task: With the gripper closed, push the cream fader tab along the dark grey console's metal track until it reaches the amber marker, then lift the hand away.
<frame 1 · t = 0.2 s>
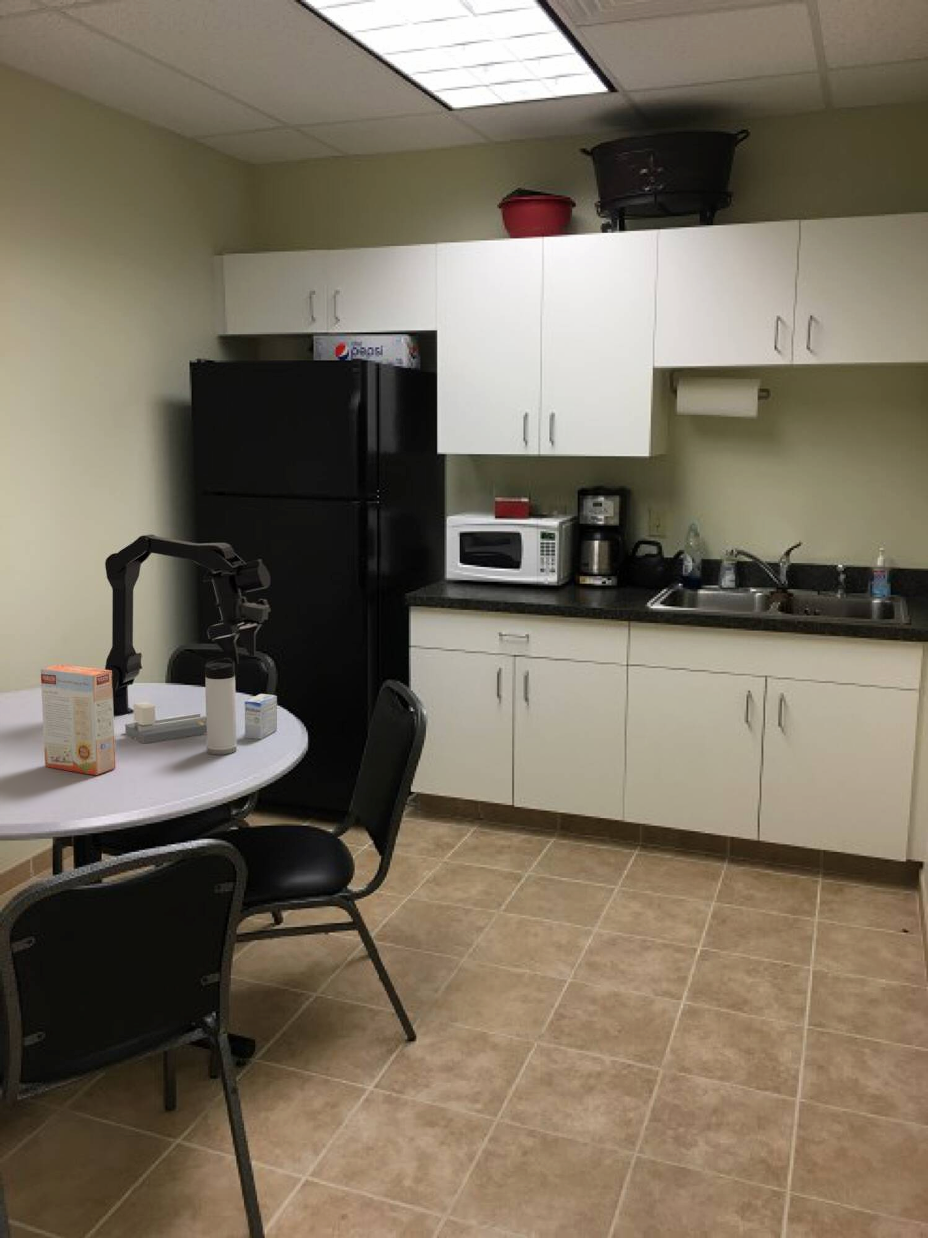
hand: (244, 660, 254), 15 cm above the table, tool pointing down, fingers open, 9 cm apart
travel mug: (222, 751, 234), on the table
medicine box: (261, 735, 247), on the table
cracker box: (80, 769, 220), on the table
fader: (144, 716, 243), point 5 cm above the table, slide at -6.0 cm
console: (170, 732, 247), on the table
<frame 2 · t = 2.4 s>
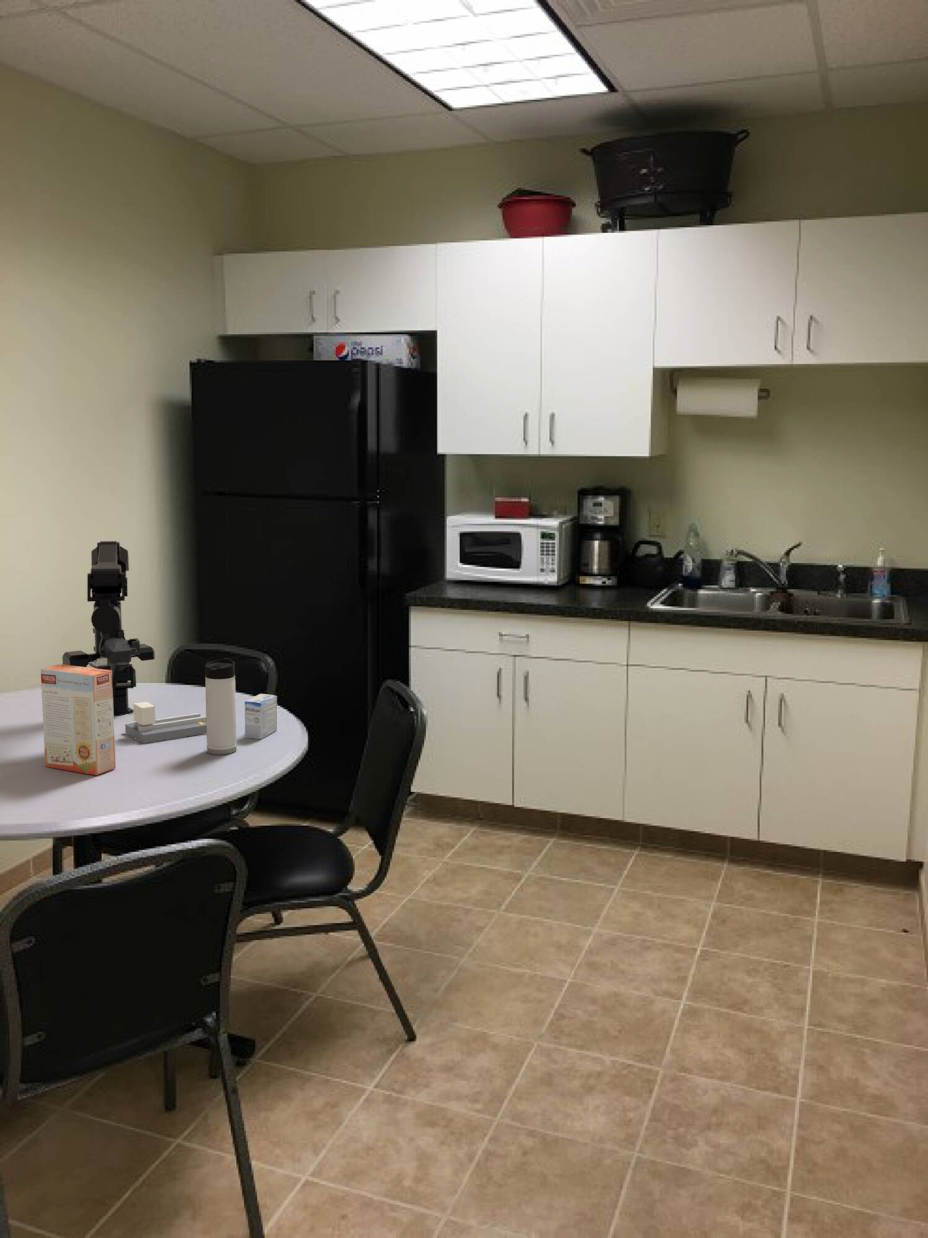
hand: (110, 694, 237), 11 cm above the table, tool pointing down, fingers closed
nothing on the table moved.
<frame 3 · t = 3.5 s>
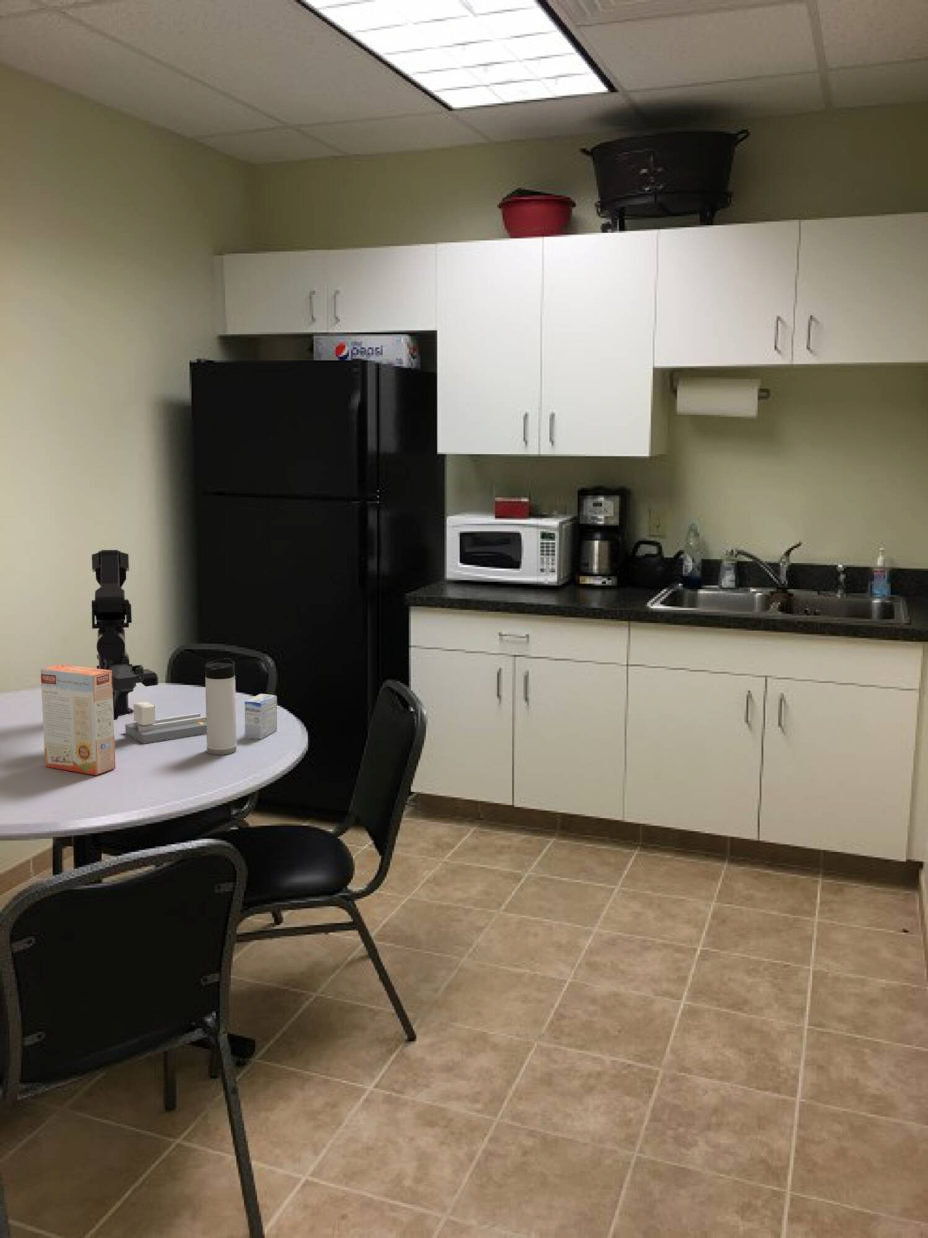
hand: (114, 719, 239), 5 cm above the table, tool pointing down, fingers closed
nothing on the table moved.
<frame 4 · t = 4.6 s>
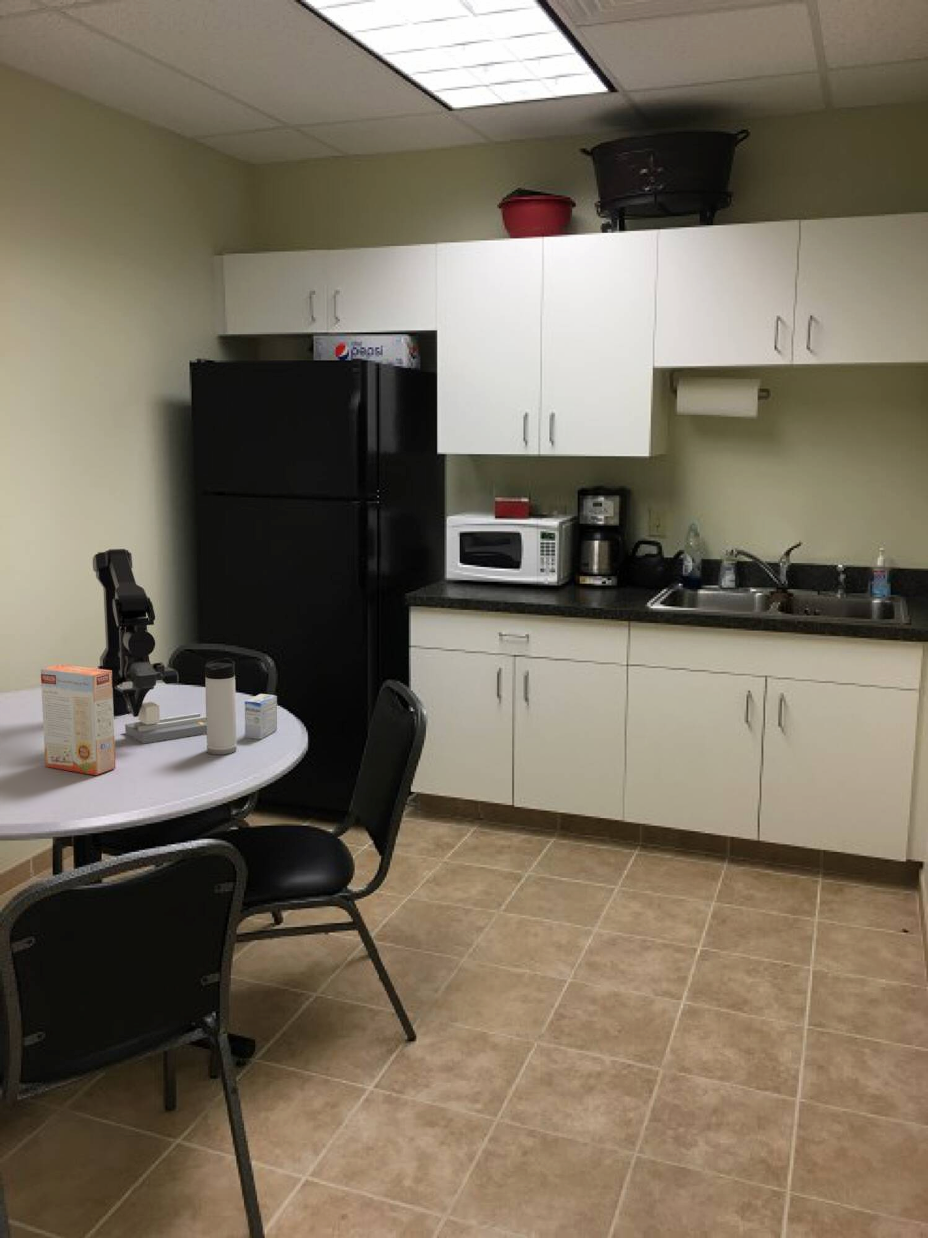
hand: (135, 716, 241), 5 cm above the table, tool pointing down, fingers closed
fader: (148, 715, 243), point 5 cm above the table, slide at -5.0 cm, touching gripper
everything else where it was.
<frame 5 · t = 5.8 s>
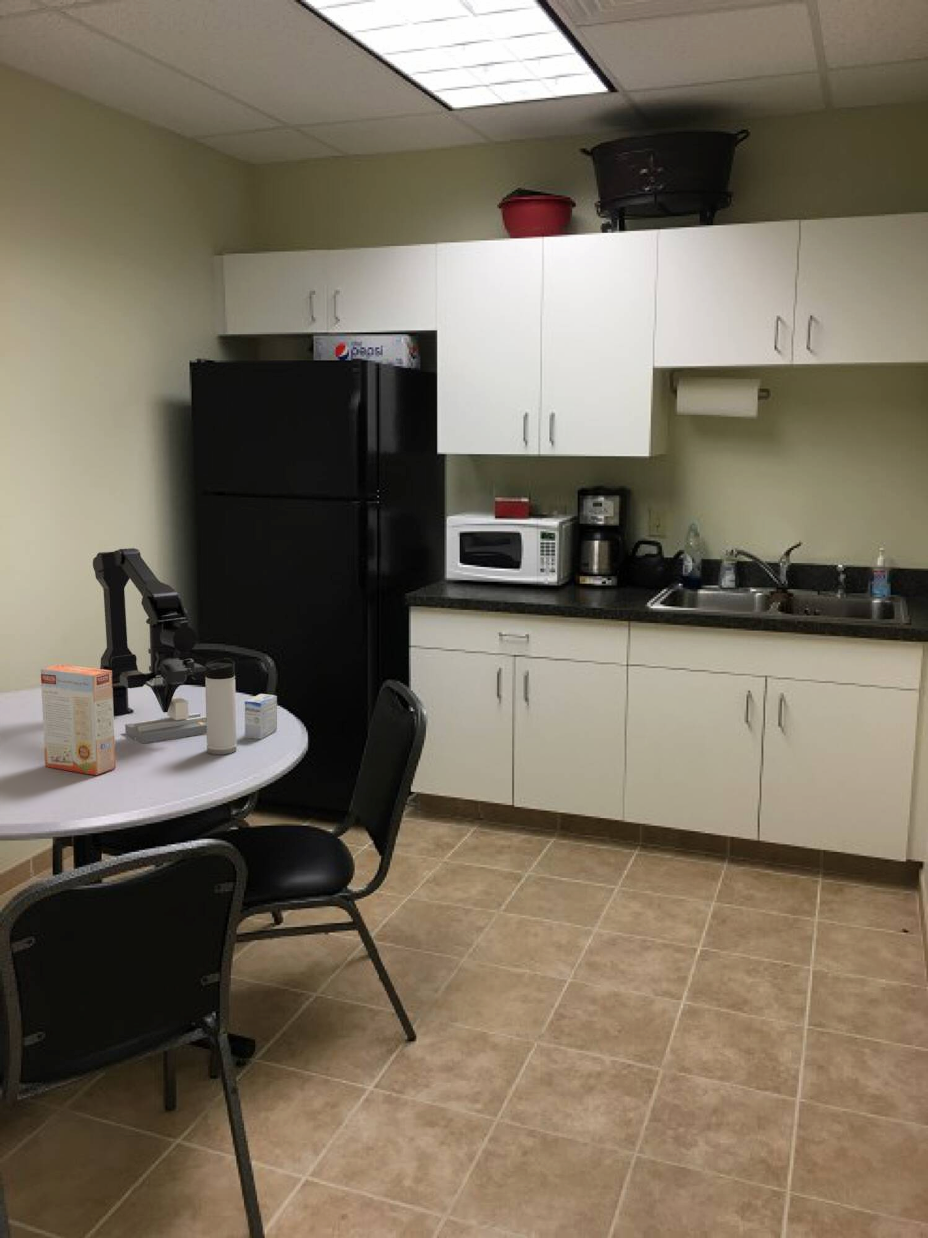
hand: (165, 712, 246), 5 cm above the table, tool pointing down, fingers closed
fader: (177, 711, 248), point 5 cm above the table, slide at 1.9 cm, touching gripper
everything else where it was.
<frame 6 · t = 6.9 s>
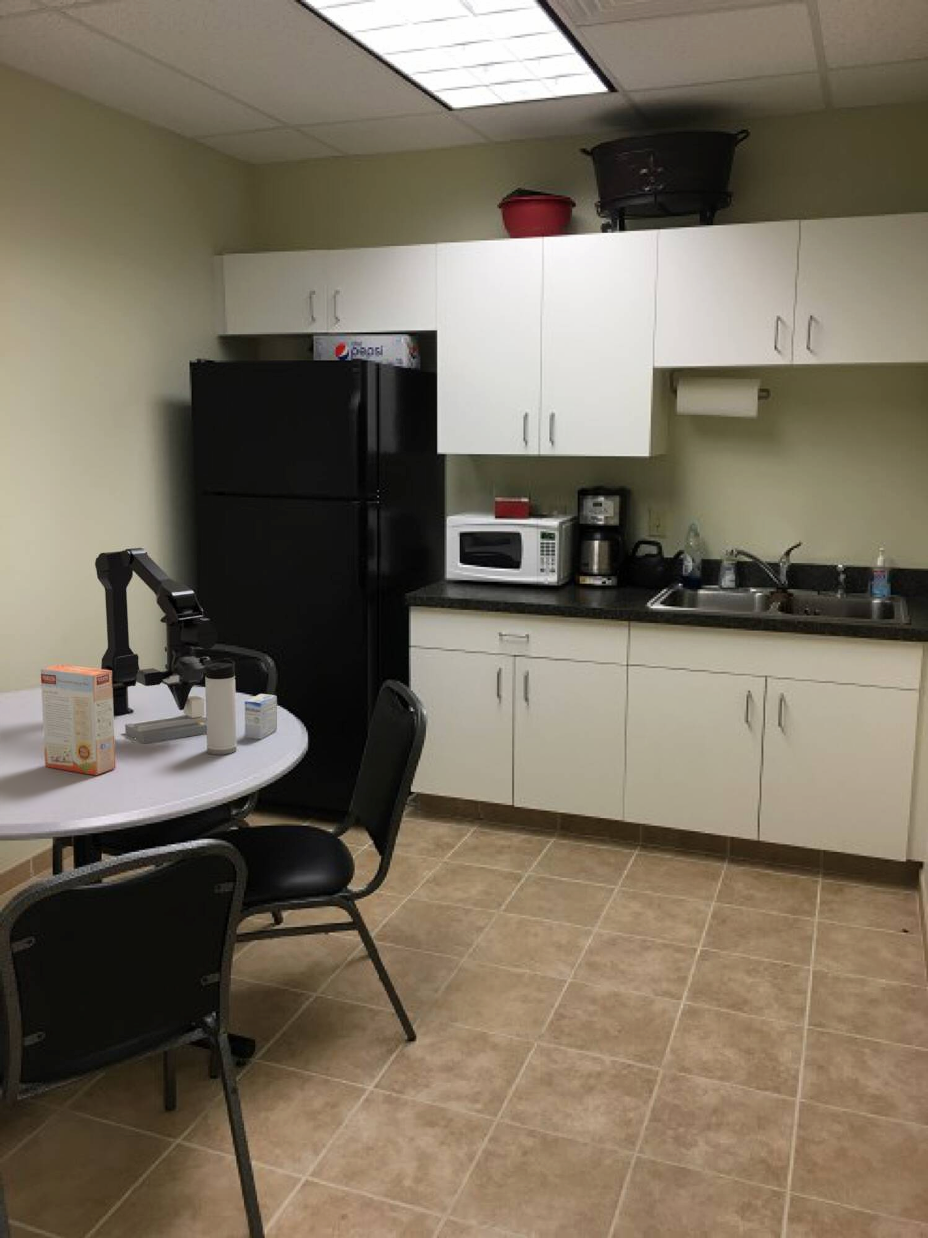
hand: (181, 709, 248), 5 cm above the table, tool pointing down, fingers closed
fader: (193, 709, 250), point 5 cm above the table, slide at 5.8 cm, touching gripper
everything else where it was.
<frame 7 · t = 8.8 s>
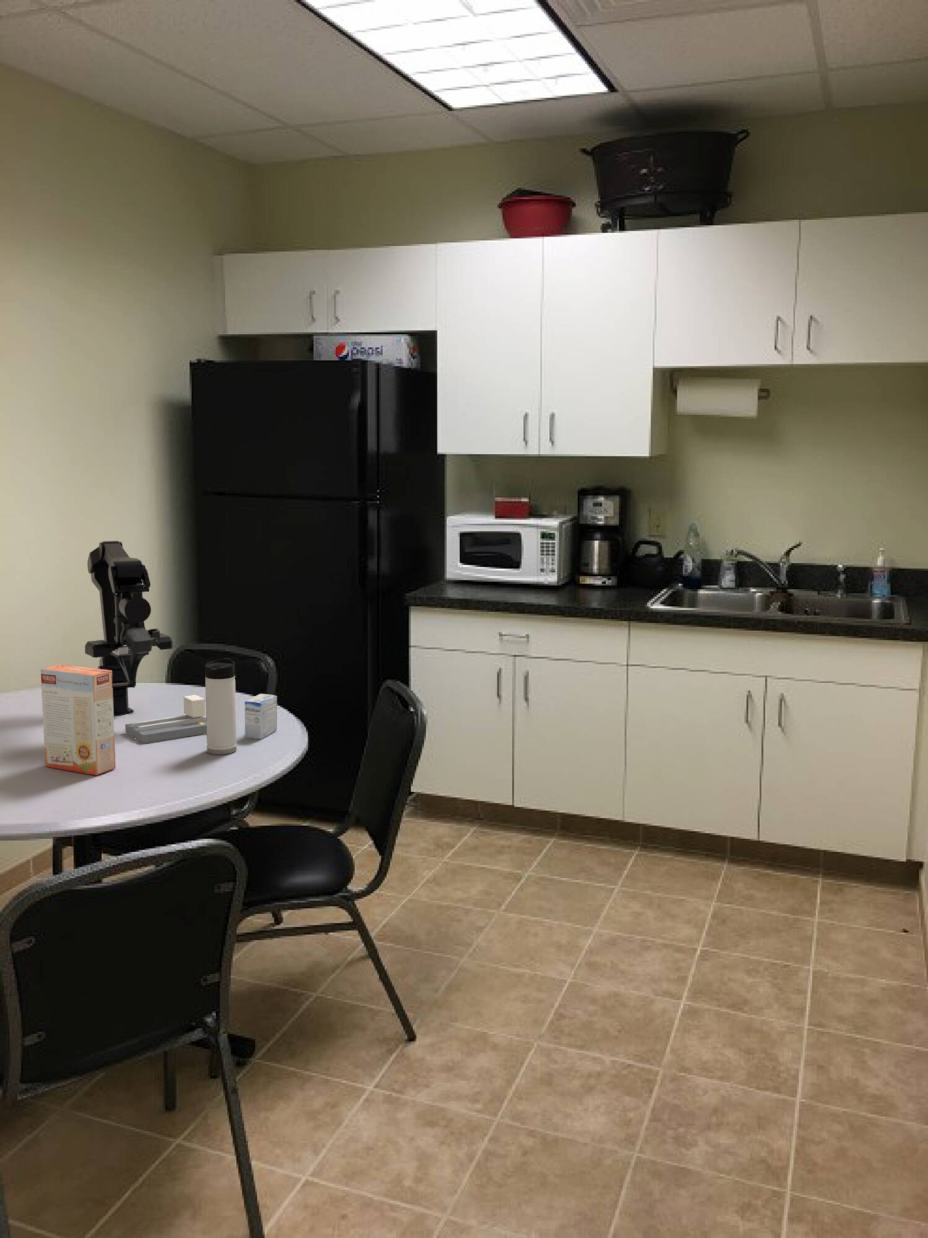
hand: (130, 681, 247), 12 cm above the table, tool pointing down, fingers closed
fader: (194, 709, 250), point 5 cm above the table, slide at 6.0 cm
everything else where it was.
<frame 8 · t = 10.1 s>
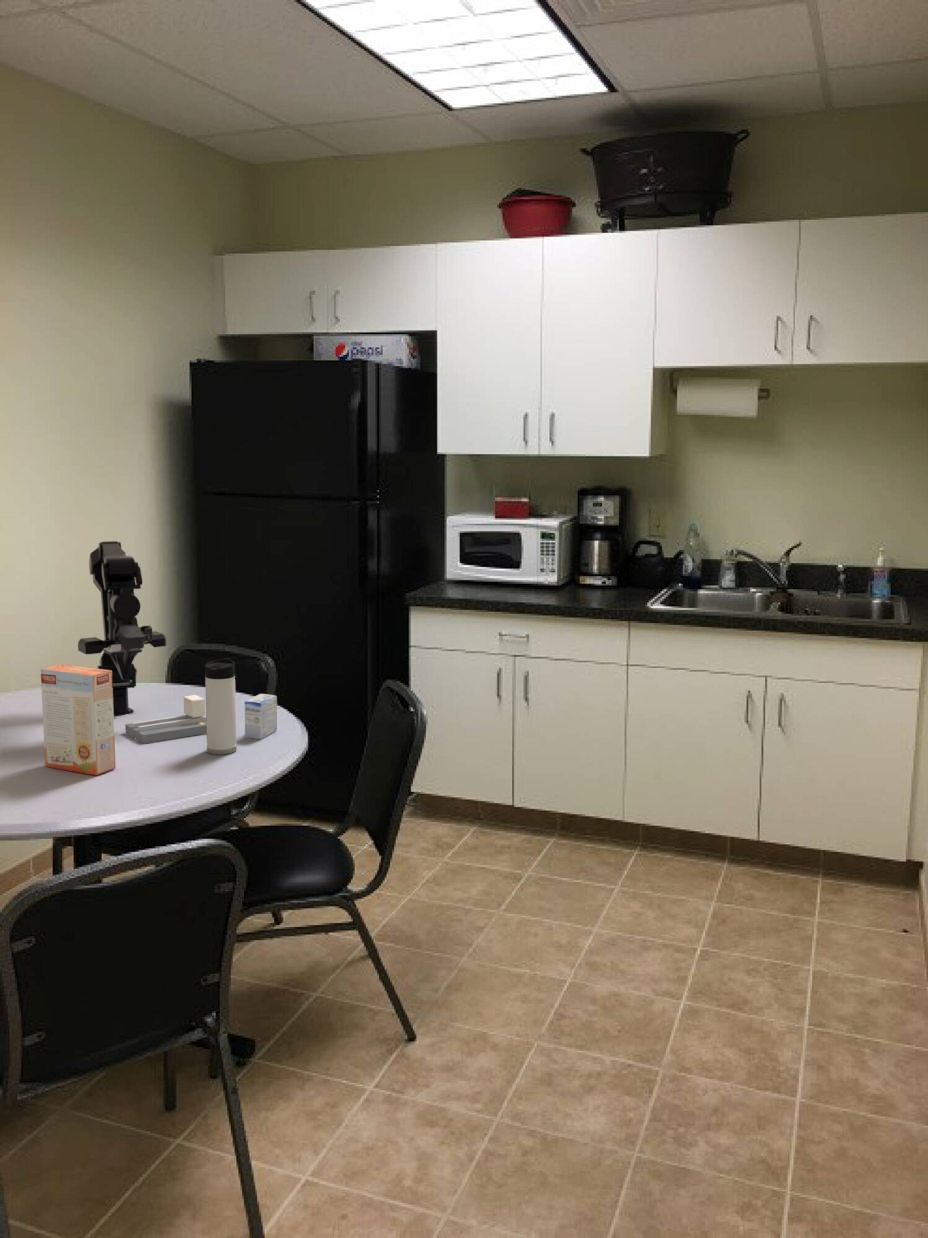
hand: (124, 679, 247), 12 cm above the table, tool pointing down, fingers closed
nothing on the table moved.
at the end: fader slide at 6.0 cm; fader 0.0 cm from the target spot, resting on console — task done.
